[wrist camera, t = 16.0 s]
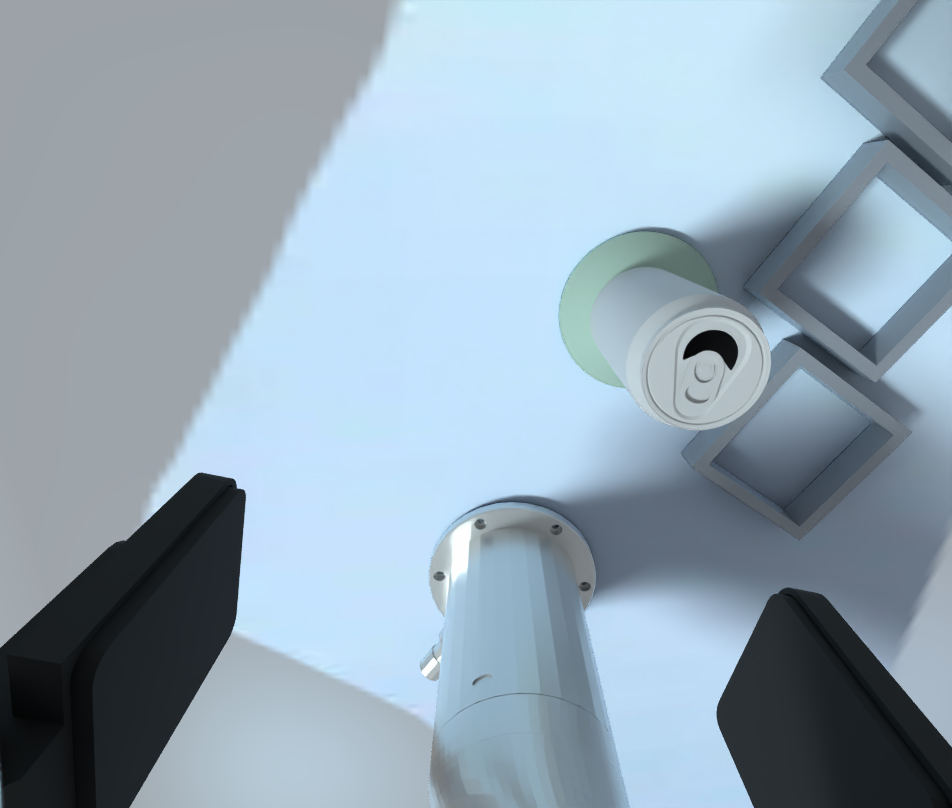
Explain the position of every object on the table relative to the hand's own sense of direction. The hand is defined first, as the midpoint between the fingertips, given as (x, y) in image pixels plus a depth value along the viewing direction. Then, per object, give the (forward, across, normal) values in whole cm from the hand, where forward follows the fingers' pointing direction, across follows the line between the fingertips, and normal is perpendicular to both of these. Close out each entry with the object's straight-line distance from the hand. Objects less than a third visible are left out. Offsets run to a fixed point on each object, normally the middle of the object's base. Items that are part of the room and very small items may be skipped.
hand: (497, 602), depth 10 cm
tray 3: (+28, -22, +4) cm, 36 cm away
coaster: (+28, -9, -2) cm, 30 cm away
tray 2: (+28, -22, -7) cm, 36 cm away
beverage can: (+28, -9, -2) cm, 29 cm away
